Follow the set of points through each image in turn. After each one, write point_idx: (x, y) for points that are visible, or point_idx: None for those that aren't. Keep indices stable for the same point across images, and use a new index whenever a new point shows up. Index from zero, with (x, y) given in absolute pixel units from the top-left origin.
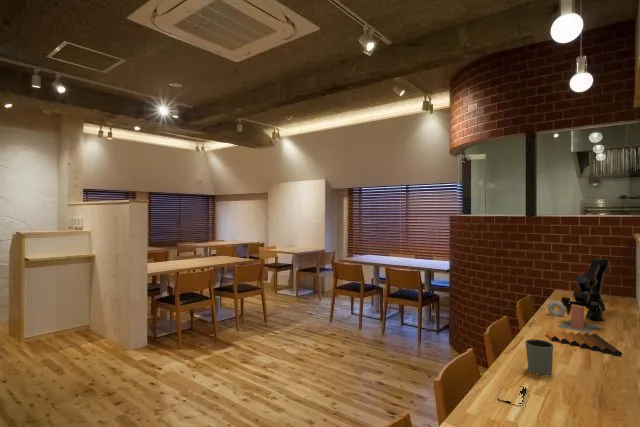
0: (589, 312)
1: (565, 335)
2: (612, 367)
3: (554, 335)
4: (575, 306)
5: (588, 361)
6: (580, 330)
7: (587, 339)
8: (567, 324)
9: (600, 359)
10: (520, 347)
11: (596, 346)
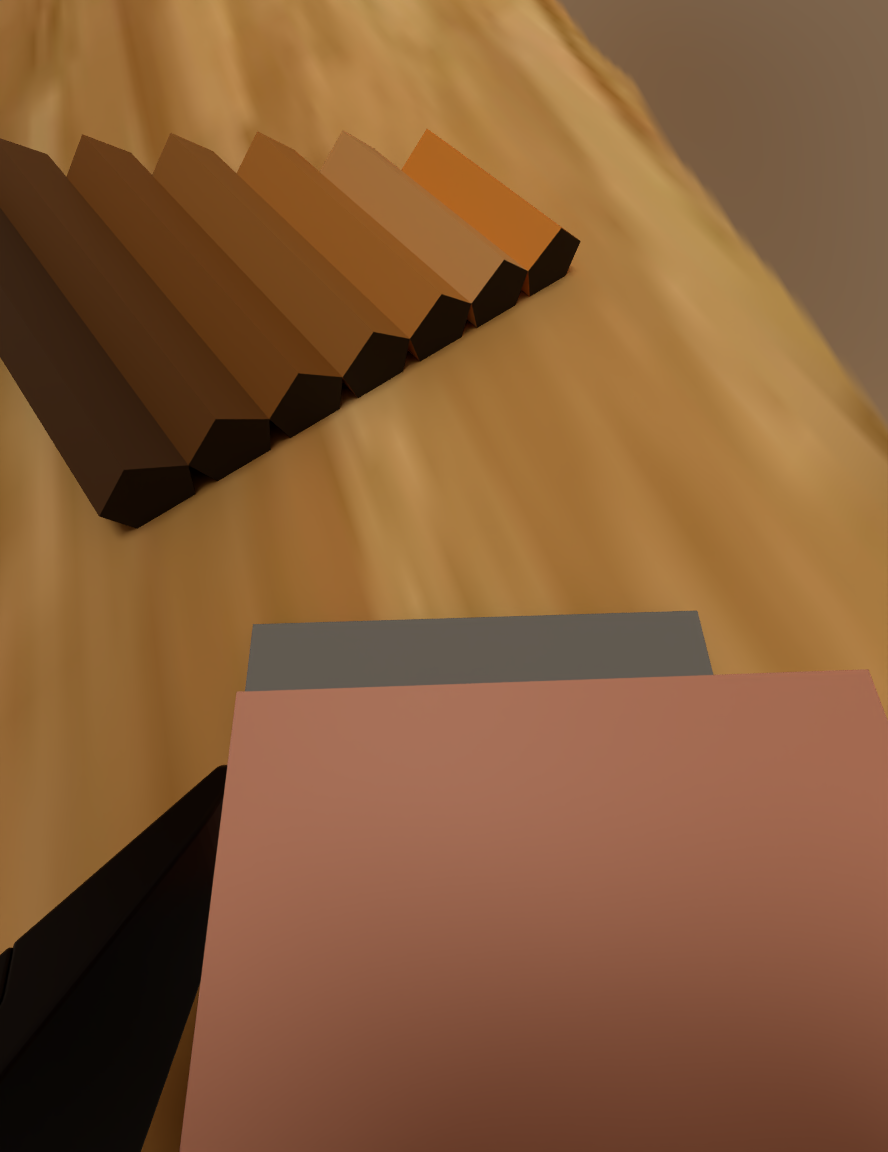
0: (25, 944)
1: (384, 234)
2: (4, 44)
3: (438, 138)
4: (612, 686)
5: (135, 43)
6: (381, 678)
7: (167, 223)
8: None
9: (72, 95)
10: (514, 9)
11: (82, 154)
